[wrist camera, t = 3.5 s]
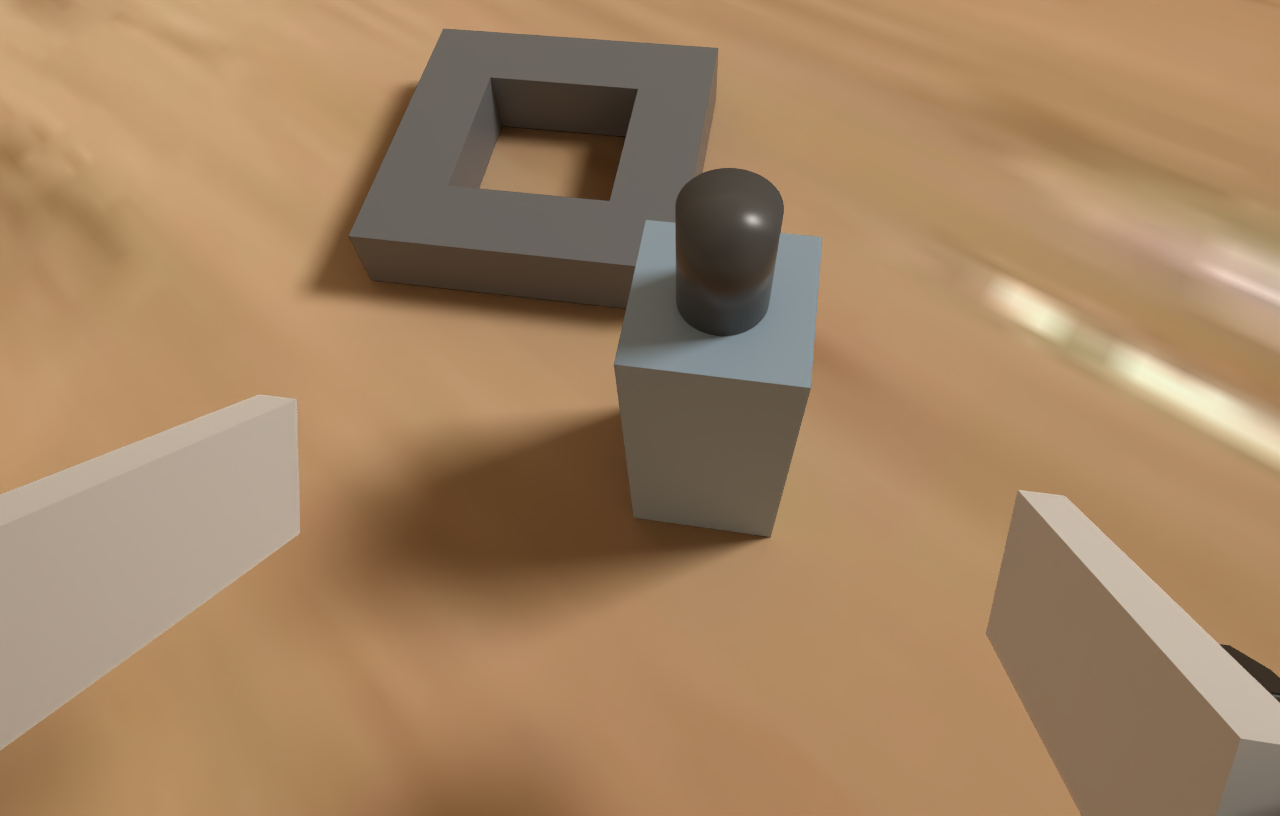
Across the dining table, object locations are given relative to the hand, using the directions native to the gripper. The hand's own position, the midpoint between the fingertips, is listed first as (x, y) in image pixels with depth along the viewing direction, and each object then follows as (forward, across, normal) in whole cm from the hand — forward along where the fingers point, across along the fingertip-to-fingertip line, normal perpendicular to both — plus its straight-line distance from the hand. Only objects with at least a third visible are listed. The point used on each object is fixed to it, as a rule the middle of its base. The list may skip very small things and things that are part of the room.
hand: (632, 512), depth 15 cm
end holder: (+20, -7, +6) cm, 22 cm away
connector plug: (+12, +1, -3) cm, 12 cm away
